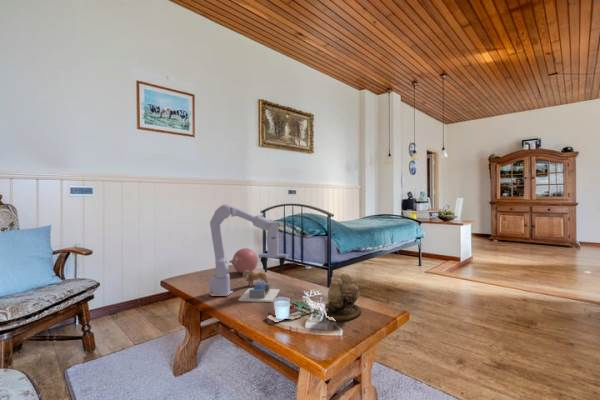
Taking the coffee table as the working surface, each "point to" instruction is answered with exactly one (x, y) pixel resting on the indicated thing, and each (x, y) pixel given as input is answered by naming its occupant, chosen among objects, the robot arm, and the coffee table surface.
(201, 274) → the coffee table surface
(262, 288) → the block
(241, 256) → the balloon
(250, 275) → the lion figurine
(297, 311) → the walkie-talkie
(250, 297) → the pocket plate
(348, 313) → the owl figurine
